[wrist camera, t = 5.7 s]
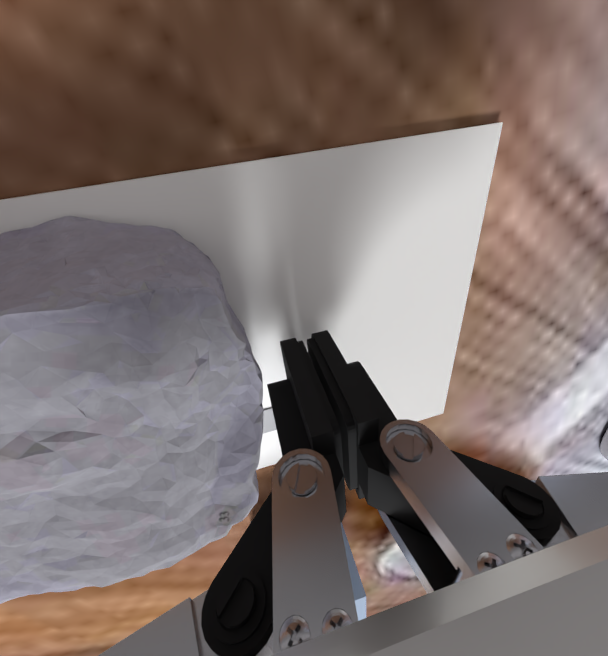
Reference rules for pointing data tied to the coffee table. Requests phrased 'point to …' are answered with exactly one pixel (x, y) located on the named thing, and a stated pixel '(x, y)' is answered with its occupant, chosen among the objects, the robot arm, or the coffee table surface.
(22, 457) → the stone block
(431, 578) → the robot arm
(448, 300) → the letter sheet
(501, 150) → the coffee table surface
